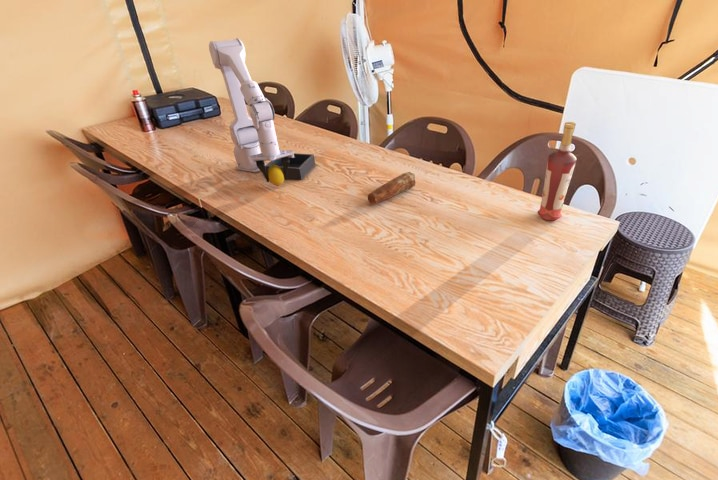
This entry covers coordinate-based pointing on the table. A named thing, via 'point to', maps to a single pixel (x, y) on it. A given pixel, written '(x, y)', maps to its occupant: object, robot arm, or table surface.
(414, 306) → the table surface
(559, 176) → the liquor
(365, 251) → the table surface
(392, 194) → the brown cylinder
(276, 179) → the lemon
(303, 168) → the bin
